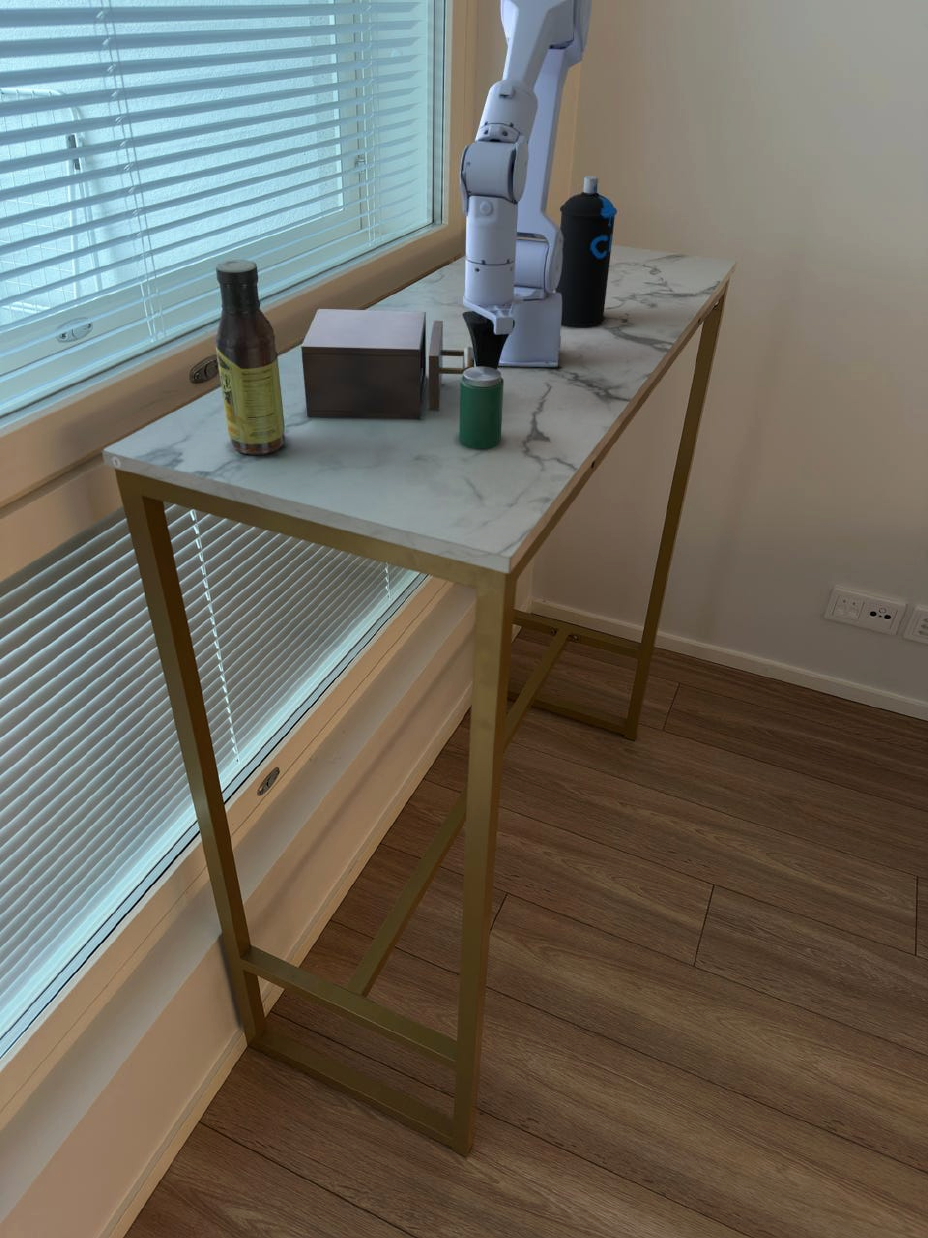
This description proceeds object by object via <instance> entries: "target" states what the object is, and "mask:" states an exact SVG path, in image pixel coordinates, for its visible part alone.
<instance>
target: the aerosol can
mask: <svg viewBox="0 0 928 1238" xmlns="http://www.w3.org/2000/svg"><path fill="white" fill-rule="evenodd" d="M598 185H599V176H595V175H586V176H584V180H583V191H582V192H581V193H578V194H575V195H573V196H571V197H569V198H568V199H567V200H566V201H565V202H564V204H563V205H561V206H560V207H559V211H560V212H561V213H560V227H559V228H560V229H561V231H562V235H563V248H562V253H563V258H562V269H561V275H560V280H559V283H558V286H557V288H556V289H555V290H554V293H561V295H562V318H561V326H564V327H565V326H566V327H571V328H593V327H597V326H600V325H602V324H604V322H605V321H606V318H605V317H606V316H605V309H606V308H605V307H606V300H607V299H606V298H607V289H608V281H609V272H610V271H609V270H610V263H611V253H612V243H613V236H614V225H615V219H616V218H615V217H616V215H617V213H618V210H617V208H616V207H615V206H614V204H613V203H612V201H611V200H610V199H608V198H607V197H605V196H604V195H601V194H600V193H598Z"/></svg>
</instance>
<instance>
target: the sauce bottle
mask: <svg viewBox="0 0 928 1238" xmlns="http://www.w3.org/2000/svg"><path fill="white" fill-rule="evenodd" d="M215 273H216V280H217V282H218V284H219V291H220V296H221V315H220V319H219V324H218V329H217V333H216V337H215V342H214V347H215V352H216V358H217V365H218V367H217V368H218V373H219V380H220V387H221V394H222V400H223V408H224V415H225V421H226V422H225V423H226V428H227V434H228V436H229V439H230V443H231V445H232V447H233V448H234V449H235V450H236V451H237V452H238V453H240V454H246V455H252V456H253V455H266V454H271V453H274V452H277V451H278V450H279V449H280V448H281V447H282V446H283V445H284V443H285V441H286V436H285V428H286V427H285V417H284V406H283V404H284V403H283V397H282V396H283V395H282V386H281V377H280V367H279V358H278V353H277V351H276V341H275V340H276V336H275V333H274V328H273V326H272V324H271V322H270V321H269V320H268V318H267V317H266V316H265V315H264V313H263V311H262V310H261V309H260V308H261V301H260V298H259V287H258V283H259V271H258V266H257V263H256V262H255V261H251V260H248V259H228V260H224V261H222V262H220V263H217V264H216V265H215Z"/></svg>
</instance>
